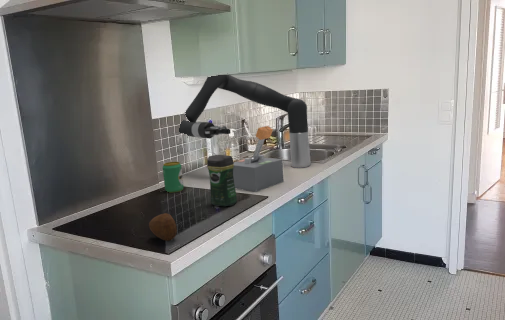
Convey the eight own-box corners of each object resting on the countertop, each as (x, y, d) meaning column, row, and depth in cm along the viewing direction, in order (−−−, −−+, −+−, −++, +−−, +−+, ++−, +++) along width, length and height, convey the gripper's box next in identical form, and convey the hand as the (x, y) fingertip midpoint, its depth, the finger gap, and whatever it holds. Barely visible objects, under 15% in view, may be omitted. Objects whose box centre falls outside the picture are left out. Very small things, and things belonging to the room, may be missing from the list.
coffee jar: (240, 202, 158) (236, 153, 154) (226, 208, 152) (222, 158, 148) (221, 199, 164) (217, 152, 160) (207, 205, 158) (202, 156, 154)
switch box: (256, 177, 195) (254, 151, 192) (283, 181, 184) (281, 154, 181) (228, 187, 182) (226, 159, 179) (256, 191, 171) (253, 162, 169)
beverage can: (181, 192, 179) (178, 164, 176) (163, 193, 179) (159, 165, 177) (185, 187, 187) (182, 160, 184) (168, 188, 187) (165, 162, 185)
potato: (166, 246, 121) (163, 220, 120) (145, 239, 127) (142, 214, 126) (185, 237, 127) (183, 212, 125) (165, 231, 133) (162, 207, 131)
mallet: (256, 158, 184) (267, 125, 176) (260, 161, 182) (273, 129, 174) (246, 160, 180) (258, 127, 172) (251, 164, 178) (263, 131, 170)
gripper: (191, 123, 194) (217, 124, 182) (213, 120, 203) (239, 121, 192) (193, 140, 195) (219, 142, 183) (214, 135, 205) (240, 137, 193)
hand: (229, 131), depth 188 cm, fingers closed
